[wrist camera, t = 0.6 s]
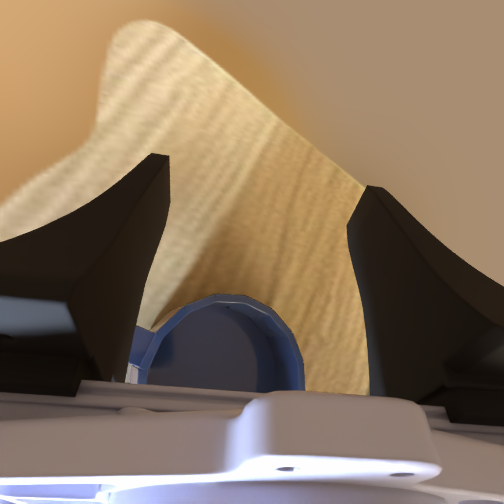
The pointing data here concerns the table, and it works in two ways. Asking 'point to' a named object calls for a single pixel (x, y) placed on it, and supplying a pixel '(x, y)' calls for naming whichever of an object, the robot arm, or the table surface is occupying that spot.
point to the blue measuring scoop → (219, 348)
